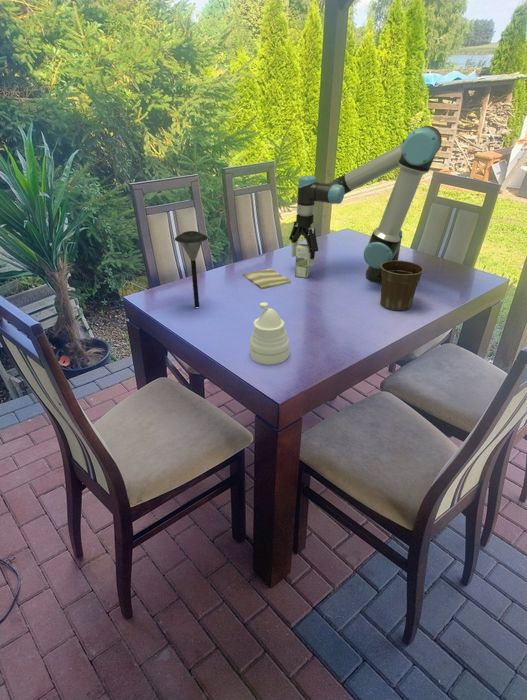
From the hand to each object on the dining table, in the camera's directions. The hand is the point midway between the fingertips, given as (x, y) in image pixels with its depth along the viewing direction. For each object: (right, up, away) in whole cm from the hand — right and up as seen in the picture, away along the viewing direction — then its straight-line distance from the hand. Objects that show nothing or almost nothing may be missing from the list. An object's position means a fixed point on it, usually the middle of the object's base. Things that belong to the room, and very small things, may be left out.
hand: (302, 260), depth 204 cm
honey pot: (-16, -43, -57) cm, 73 cm away
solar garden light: (-44, -24, -26) cm, 57 cm away
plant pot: (+36, -23, -24) cm, 49 cm away
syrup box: (0, -6, +4) cm, 7 cm away
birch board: (-16, -9, 0) cm, 19 cm away
